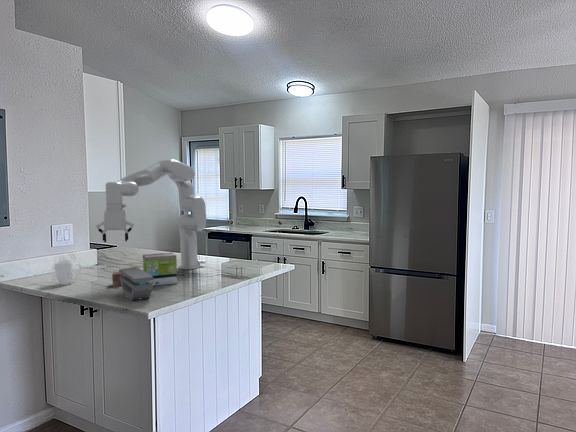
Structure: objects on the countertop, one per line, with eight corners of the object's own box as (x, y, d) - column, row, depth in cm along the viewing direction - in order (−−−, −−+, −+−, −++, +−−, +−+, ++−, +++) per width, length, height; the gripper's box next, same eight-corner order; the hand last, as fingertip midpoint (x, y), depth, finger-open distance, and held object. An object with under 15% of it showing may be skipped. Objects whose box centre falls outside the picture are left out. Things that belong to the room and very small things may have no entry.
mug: (58, 287, 218) (56, 264, 217) (54, 284, 224) (52, 261, 223) (84, 283, 225) (82, 261, 224) (79, 280, 232) (78, 258, 231)
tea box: (146, 287, 215) (145, 257, 214) (143, 282, 224) (141, 254, 223) (177, 283, 222) (176, 254, 221) (173, 279, 231) (171, 251, 230)
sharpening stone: (120, 292, 207) (119, 269, 206) (137, 289, 212) (136, 267, 211) (135, 304, 187) (134, 279, 186) (154, 301, 191) (153, 276, 190)
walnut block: (123, 283, 224) (123, 271, 223) (123, 285, 219) (123, 273, 219) (113, 284, 222) (112, 272, 222) (112, 286, 218) (112, 274, 217)
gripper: (133, 206, 223) (134, 239, 225) (96, 207, 218) (97, 241, 219) (133, 207, 216) (134, 241, 218) (94, 207, 211) (96, 243, 212)
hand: (115, 241), depth 219 cm, fingers open, 9 cm apart
